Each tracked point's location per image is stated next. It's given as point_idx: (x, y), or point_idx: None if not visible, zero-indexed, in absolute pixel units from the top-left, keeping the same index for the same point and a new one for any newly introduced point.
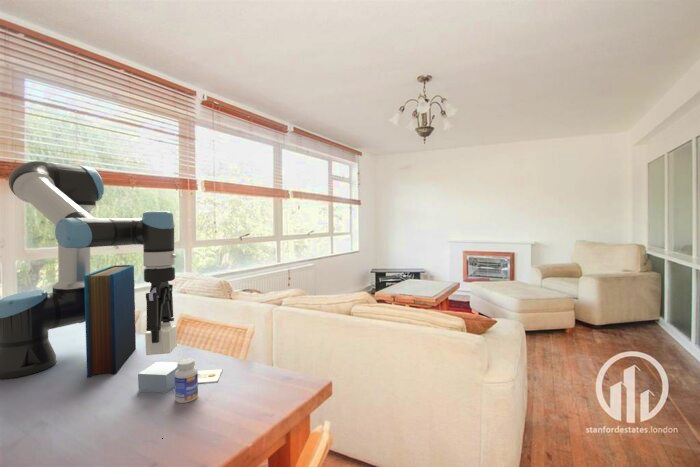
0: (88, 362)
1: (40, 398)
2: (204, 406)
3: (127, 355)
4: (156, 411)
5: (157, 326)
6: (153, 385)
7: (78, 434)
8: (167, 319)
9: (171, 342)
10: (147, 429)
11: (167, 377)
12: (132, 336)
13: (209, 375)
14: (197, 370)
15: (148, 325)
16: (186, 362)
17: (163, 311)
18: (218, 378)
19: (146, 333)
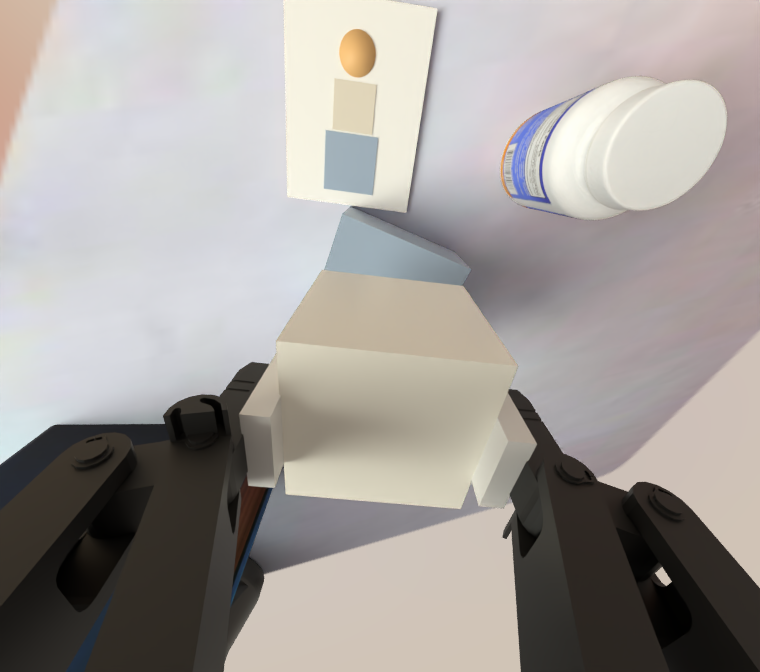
0: (262, 509)
1: (373, 508)
2: (661, 62)
3: (141, 434)
4: (583, 256)
5: (679, 520)
6: None
7: (591, 404)
8: (230, 465)
9: (436, 305)
10: (685, 259)
11: (460, 262)
12: (31, 474)
13: (357, 69)
14: (630, 77)
15: (671, 597)
16: (696, 142)
17: (219, 632)
18: (403, 3)
19: (463, 501)
